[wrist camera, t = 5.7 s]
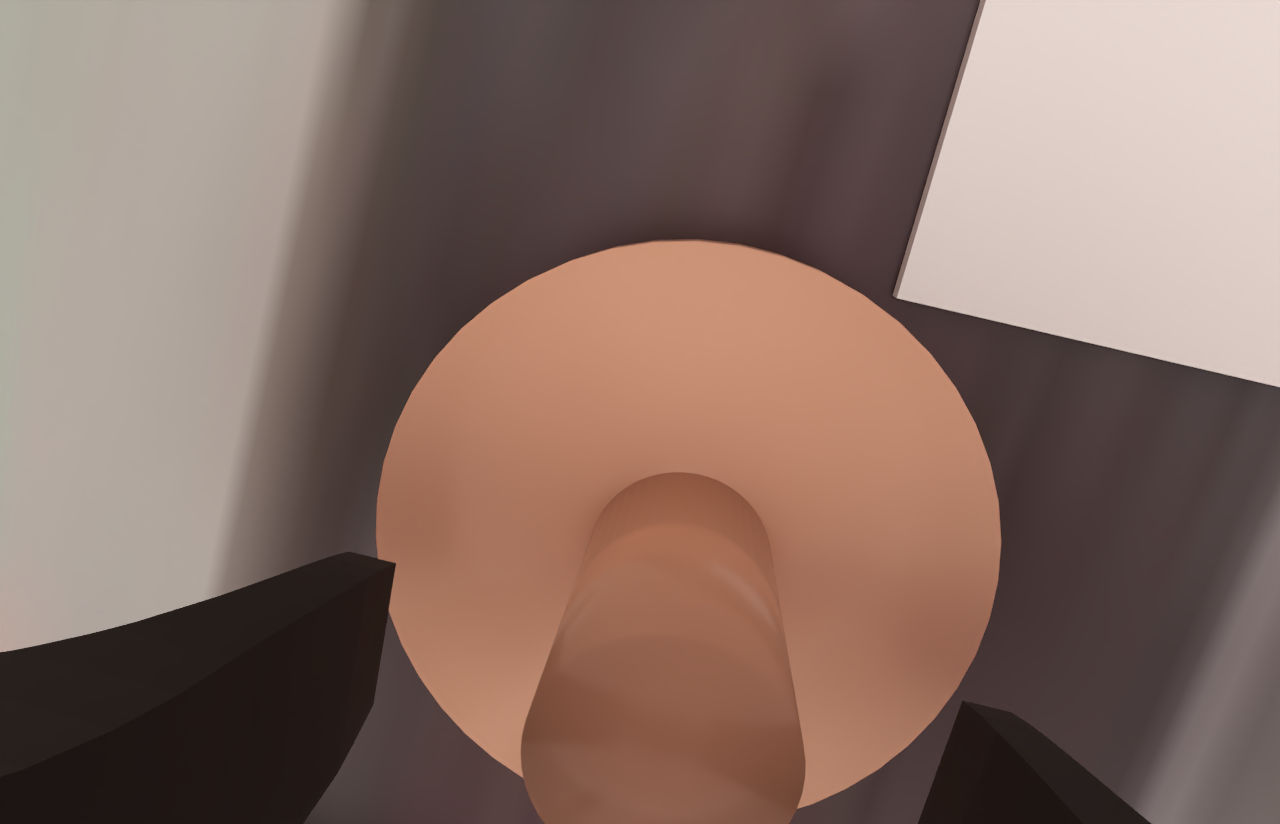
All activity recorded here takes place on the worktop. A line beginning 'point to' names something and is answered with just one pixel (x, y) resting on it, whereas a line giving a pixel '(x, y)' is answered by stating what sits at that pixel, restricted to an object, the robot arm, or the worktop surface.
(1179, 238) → the mat
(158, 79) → the worktop surface
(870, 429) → the lid
